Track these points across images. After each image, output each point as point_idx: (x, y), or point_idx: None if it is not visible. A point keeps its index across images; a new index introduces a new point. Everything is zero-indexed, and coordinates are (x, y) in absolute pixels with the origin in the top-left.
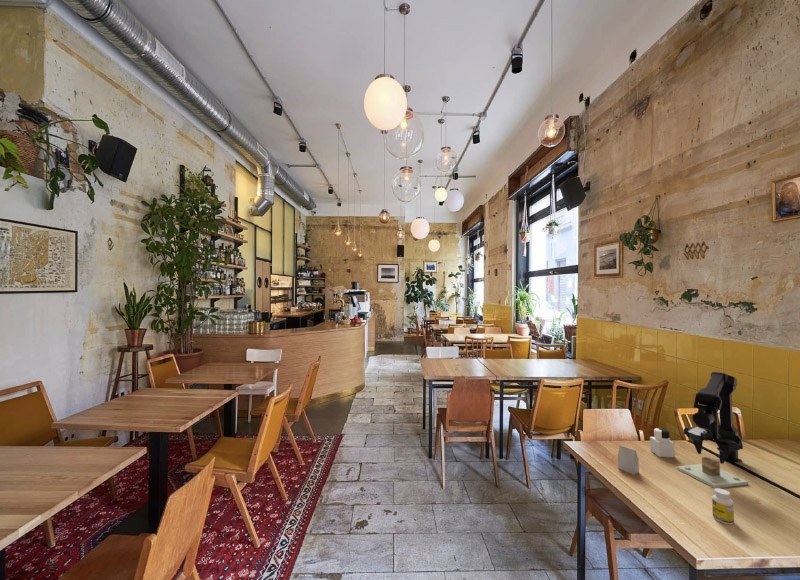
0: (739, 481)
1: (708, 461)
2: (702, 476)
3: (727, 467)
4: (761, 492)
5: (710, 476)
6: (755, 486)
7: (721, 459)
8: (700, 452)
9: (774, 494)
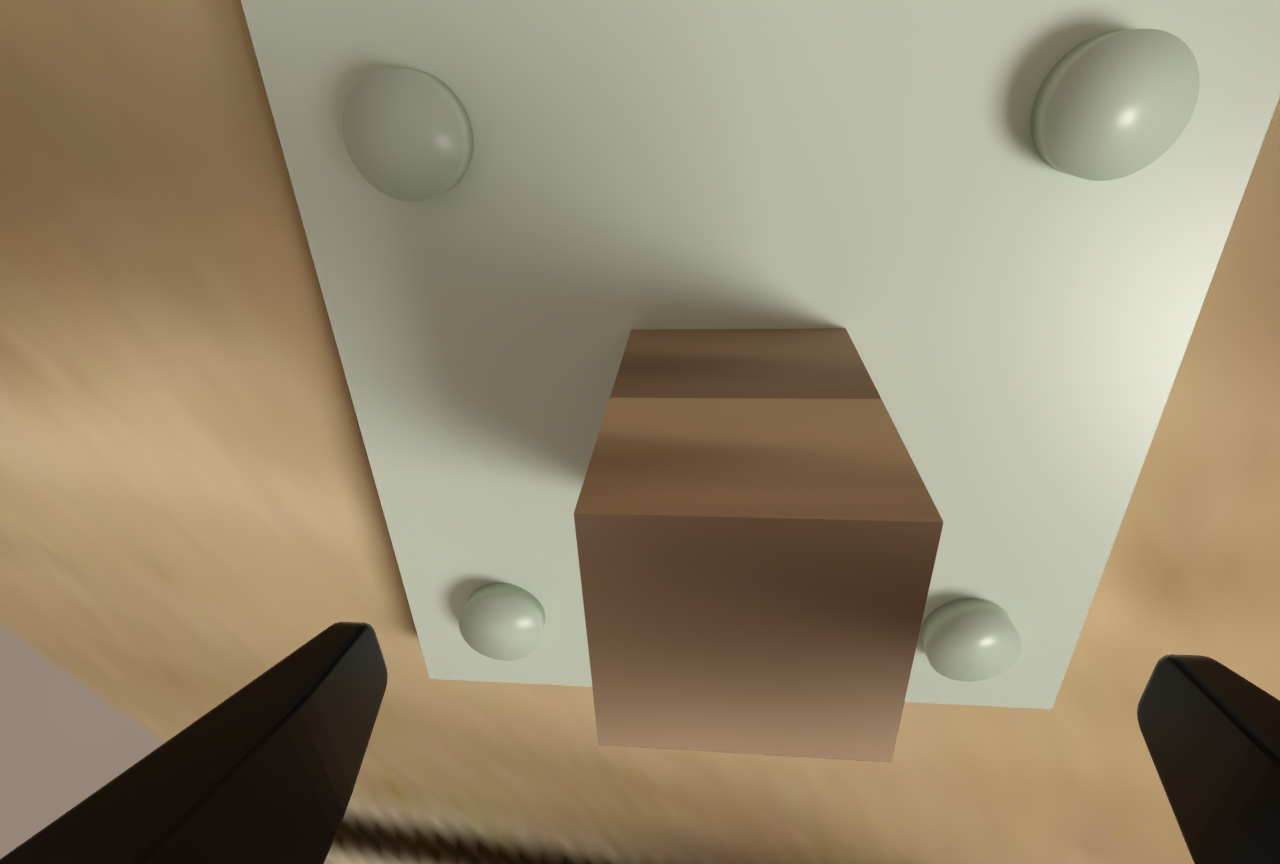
0: (429, 586)
1: (681, 495)
2: (660, 99)
3: (889, 827)
4: (249, 598)
5: (632, 293)
6: (400, 672)
7: (185, 741)
8: (1169, 754)
9: (223, 674)
